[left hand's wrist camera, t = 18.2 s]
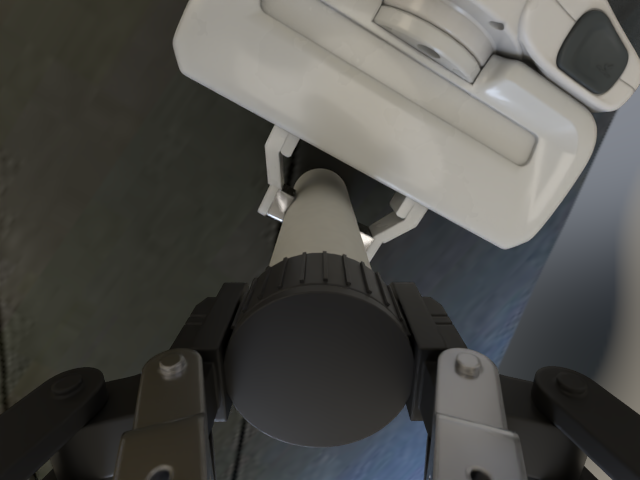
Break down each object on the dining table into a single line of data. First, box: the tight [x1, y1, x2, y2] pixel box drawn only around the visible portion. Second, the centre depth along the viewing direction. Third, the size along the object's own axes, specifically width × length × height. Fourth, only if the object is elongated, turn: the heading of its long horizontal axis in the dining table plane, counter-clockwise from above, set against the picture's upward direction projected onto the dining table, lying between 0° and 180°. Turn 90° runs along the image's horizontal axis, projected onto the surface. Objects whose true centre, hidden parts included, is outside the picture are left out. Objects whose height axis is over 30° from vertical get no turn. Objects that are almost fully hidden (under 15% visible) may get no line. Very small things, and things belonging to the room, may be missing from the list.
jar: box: [269, 169, 371, 269], centre depth 18 cm, size 4×4×18 cm
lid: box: [224, 251, 414, 447], centre depth 10 cm, size 5×5×2 cm
